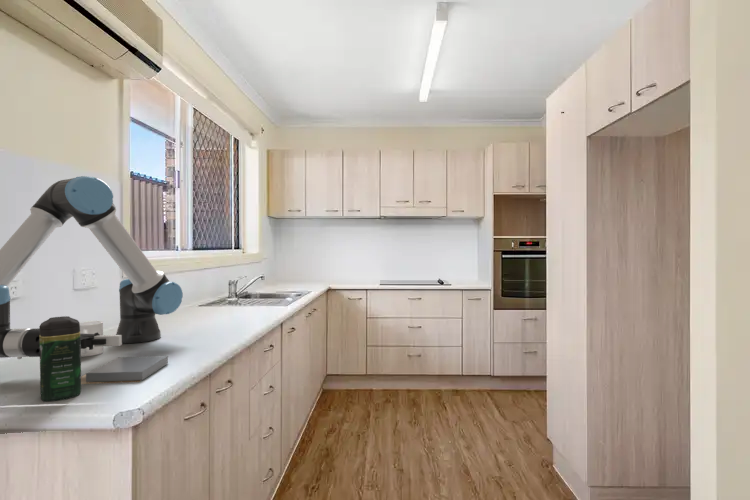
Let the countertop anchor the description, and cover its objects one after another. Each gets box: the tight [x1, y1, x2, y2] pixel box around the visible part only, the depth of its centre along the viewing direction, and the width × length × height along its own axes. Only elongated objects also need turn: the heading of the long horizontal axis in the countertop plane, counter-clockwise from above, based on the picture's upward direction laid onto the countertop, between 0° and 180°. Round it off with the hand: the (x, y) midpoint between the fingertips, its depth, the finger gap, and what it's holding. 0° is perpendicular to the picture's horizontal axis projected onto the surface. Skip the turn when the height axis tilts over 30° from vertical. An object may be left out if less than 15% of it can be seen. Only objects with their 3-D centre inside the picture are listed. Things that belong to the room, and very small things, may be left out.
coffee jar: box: [38, 315, 82, 402], centre depth 104 cm, size 10×8×19 cm
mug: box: [79, 320, 104, 357], centre depth 143 cm, size 12×8×10 cm
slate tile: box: [85, 355, 169, 382], centre depth 122 cm, size 16×2×14 cm
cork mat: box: [81, 374, 143, 385], centre depth 122 cm, size 18×18×1 cm
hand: (120, 340), depth 121 cm, fingers closed
